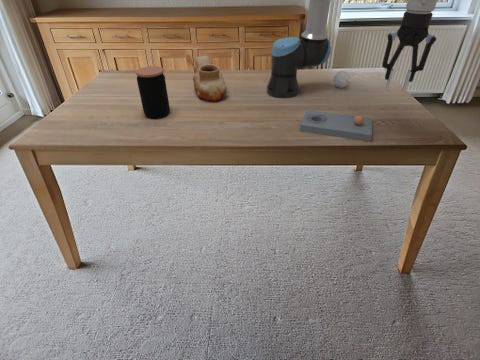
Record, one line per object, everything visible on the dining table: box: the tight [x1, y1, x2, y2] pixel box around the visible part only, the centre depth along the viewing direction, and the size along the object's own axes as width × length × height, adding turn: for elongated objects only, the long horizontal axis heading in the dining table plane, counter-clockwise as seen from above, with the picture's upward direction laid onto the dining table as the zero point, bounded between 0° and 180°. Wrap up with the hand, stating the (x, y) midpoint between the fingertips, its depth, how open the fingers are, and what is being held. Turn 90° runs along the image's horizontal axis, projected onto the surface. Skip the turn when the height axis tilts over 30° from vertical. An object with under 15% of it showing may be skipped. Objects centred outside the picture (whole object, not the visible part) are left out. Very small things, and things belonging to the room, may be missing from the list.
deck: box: [299, 109, 373, 142], centre depth 116 cm, size 25×14×2 cm, turn 71°
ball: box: [354, 115, 364, 125], centre depth 113 cm, size 3×3×3 cm
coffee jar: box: [134, 65, 171, 120], centre depth 123 cm, size 11×11×18 cm
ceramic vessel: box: [192, 55, 228, 103], centre depth 143 cm, size 14×26×15 cm, turn 19°
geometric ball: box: [333, 70, 351, 89], centre depth 149 cm, size 8×8×8 cm
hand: (395, 89), depth 103 cm, fingers open, 4 cm apart
